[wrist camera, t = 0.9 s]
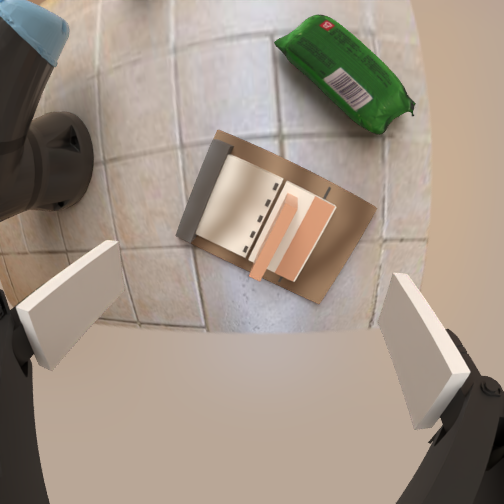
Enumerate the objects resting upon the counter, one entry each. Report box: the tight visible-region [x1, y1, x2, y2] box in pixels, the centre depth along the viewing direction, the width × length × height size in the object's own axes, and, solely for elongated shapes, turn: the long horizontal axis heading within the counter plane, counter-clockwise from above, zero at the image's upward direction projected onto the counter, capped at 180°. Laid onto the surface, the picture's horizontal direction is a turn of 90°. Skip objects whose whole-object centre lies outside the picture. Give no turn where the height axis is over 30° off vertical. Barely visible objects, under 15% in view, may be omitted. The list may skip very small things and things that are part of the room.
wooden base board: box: [176, 130, 377, 304], centre depth 33 cm, size 20×14×3 cm
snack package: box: [274, 15, 416, 134], centre depth 25 cm, size 7×16×5 cm, turn 46°
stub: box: [248, 181, 336, 282], centre depth 30 cm, size 6×10×7 cm, turn 156°
